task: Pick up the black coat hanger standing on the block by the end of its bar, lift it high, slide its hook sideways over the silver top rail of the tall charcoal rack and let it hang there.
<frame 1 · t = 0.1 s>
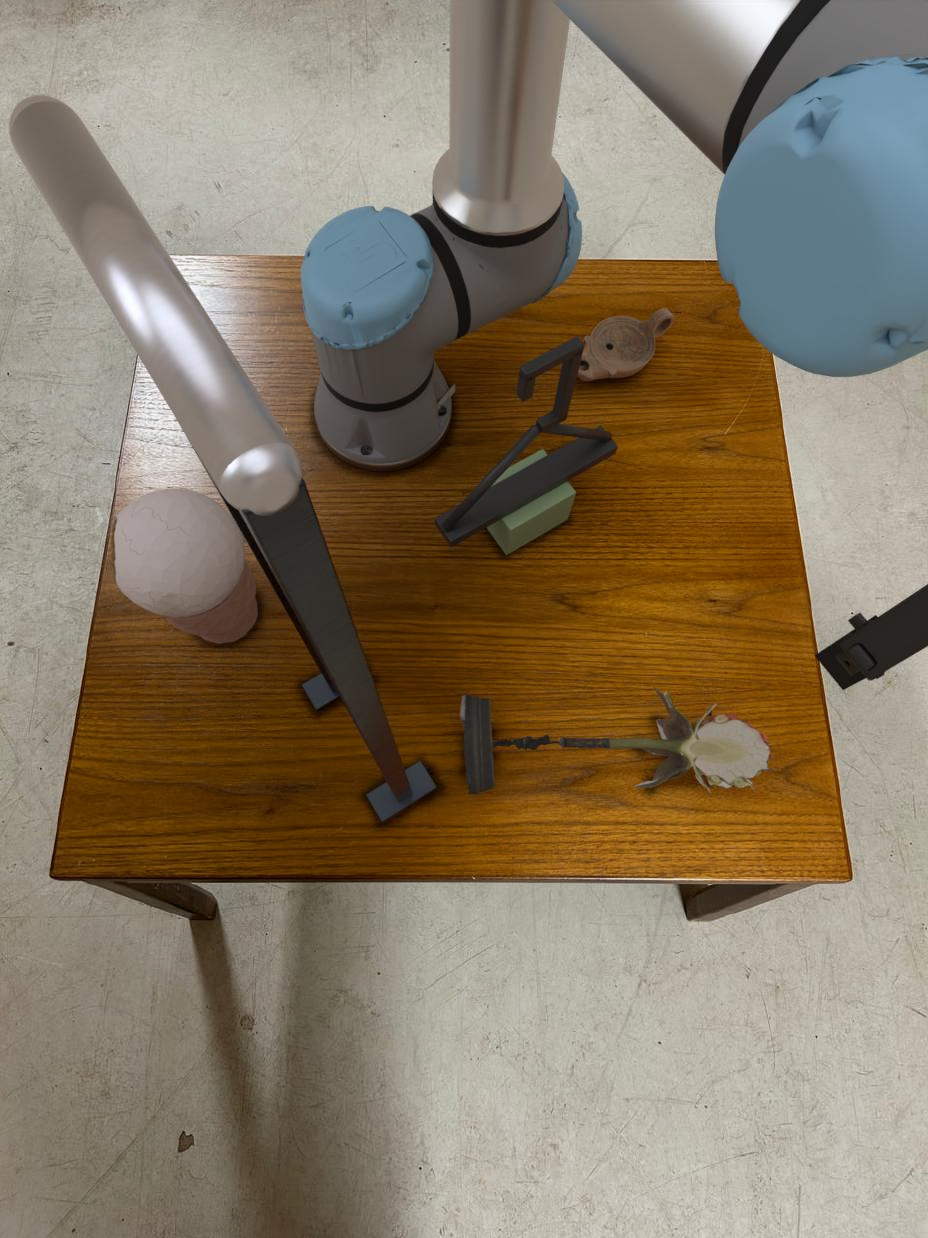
hand: (910, 616, 51), 28 cm above the table, tool pointing down, fingers open, 13 cm apart
oil lamp: (617, 360, 91), on the table
block: (521, 516, 84), on the table
hanger: (527, 488, 78), point 6 cm above the table, touching block
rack: (369, 737, 75), on the table
ornament: (605, 746, 76), on the table
ice cream cone: (225, 613, 80), on the table
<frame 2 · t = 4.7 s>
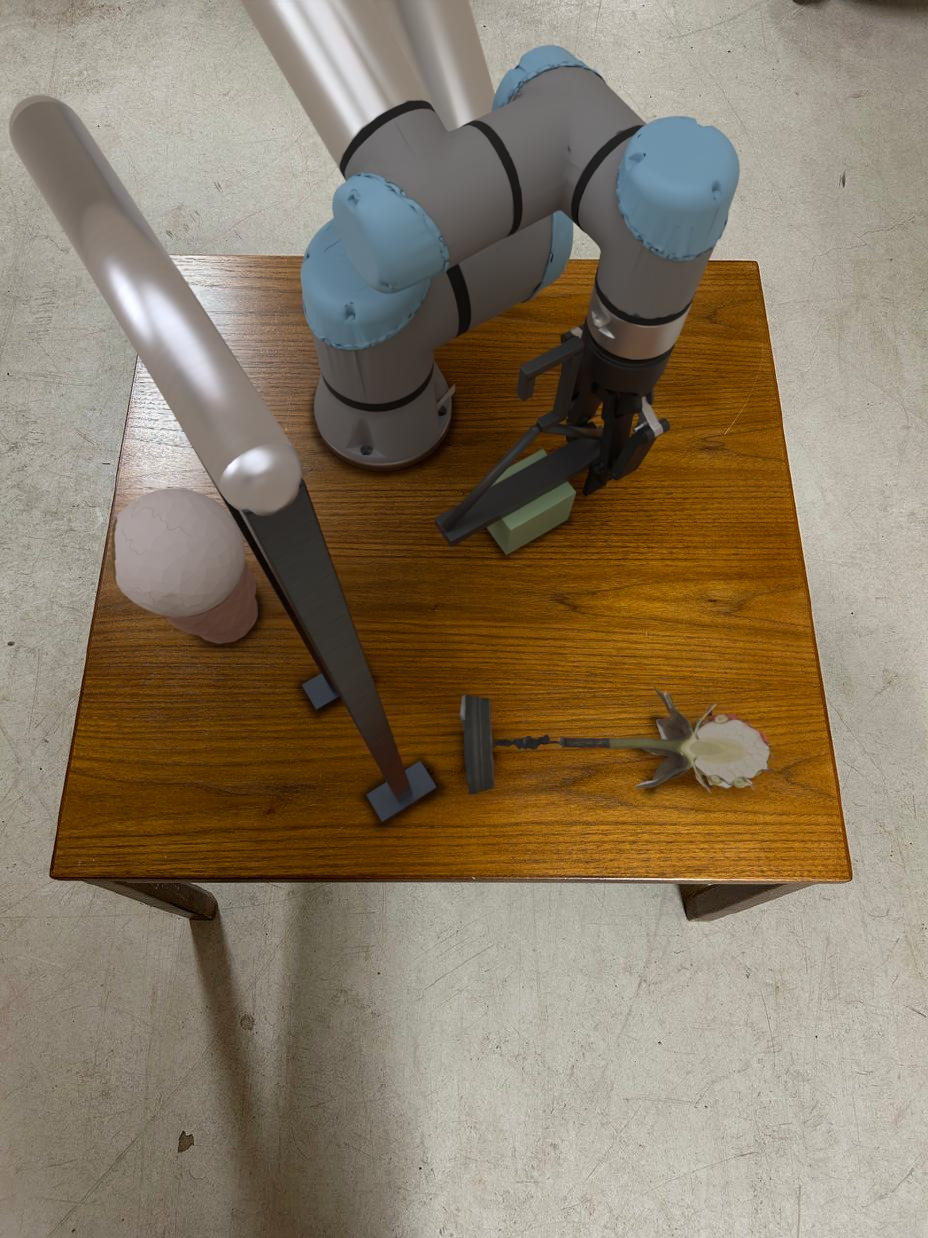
hand: (583, 475, 84), 1 cm above the table, tool pointing down, fingers closed on hanger, 3 cm apart
hanger: (527, 488, 78), point 6 cm above the table, touching gripper, block
everything else where it was.
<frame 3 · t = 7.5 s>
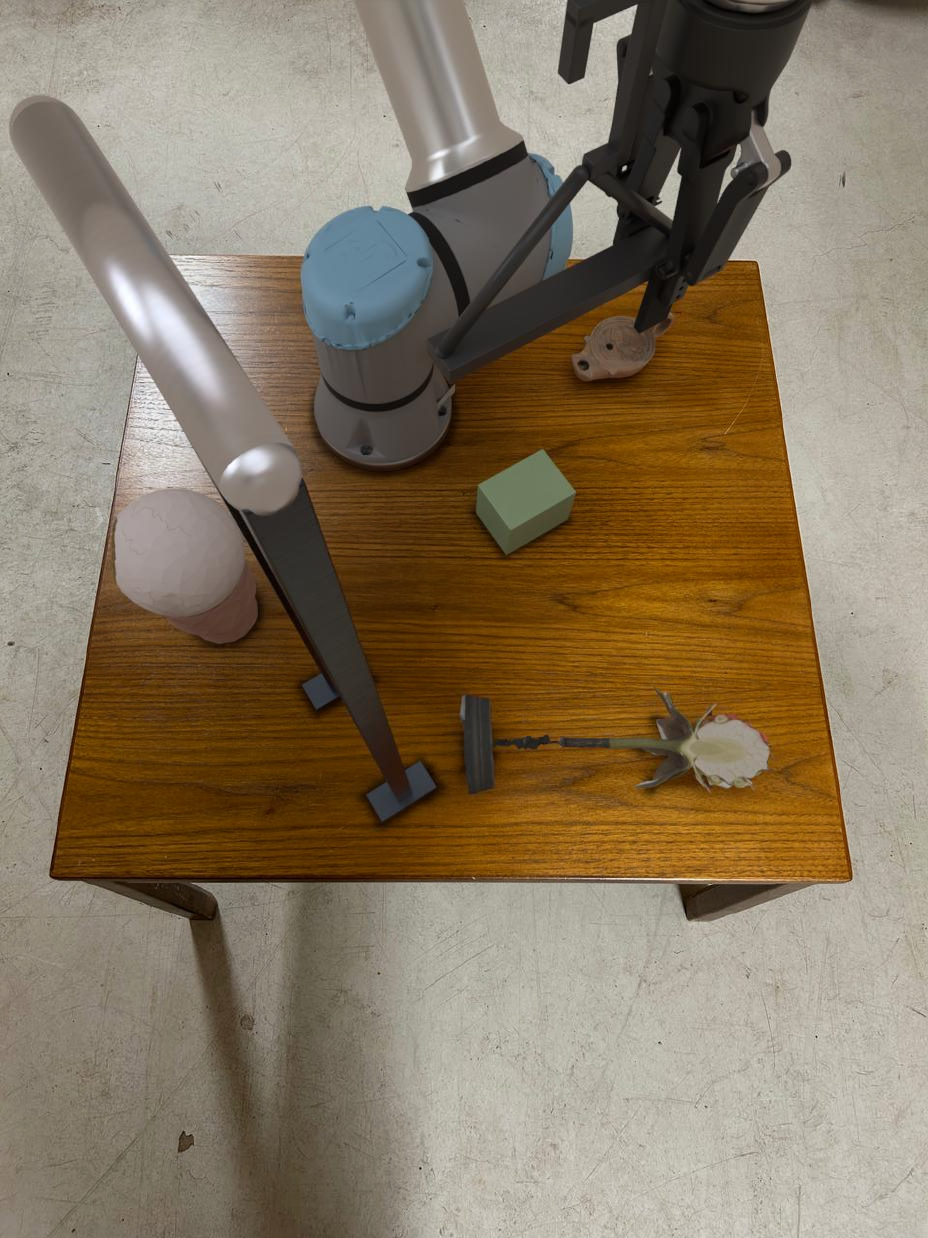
hand: (636, 305, 60), 27 cm above the table, tool pointing down, fingers closed on hanger, 3 cm apart
hanger: (559, 305, 54), point 31 cm above the table, touching gripper
everything else where it was.
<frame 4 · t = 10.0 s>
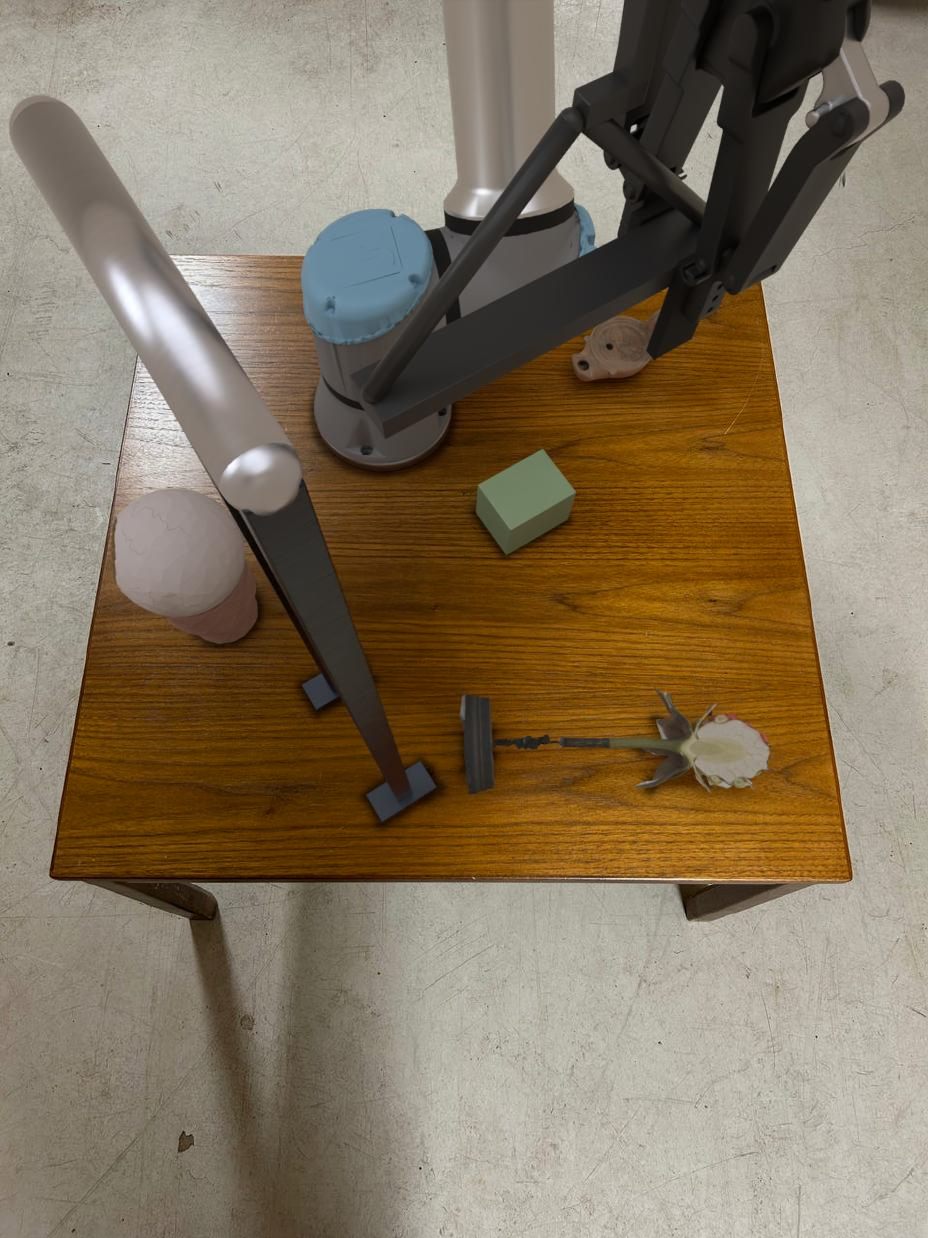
hand: (649, 321, 44), 39 cm above the table, tool pointing down, fingers closed on hanger, 3 cm apart
hanger: (544, 323, 38), point 44 cm above the table, touching gripper
everything else where it was.
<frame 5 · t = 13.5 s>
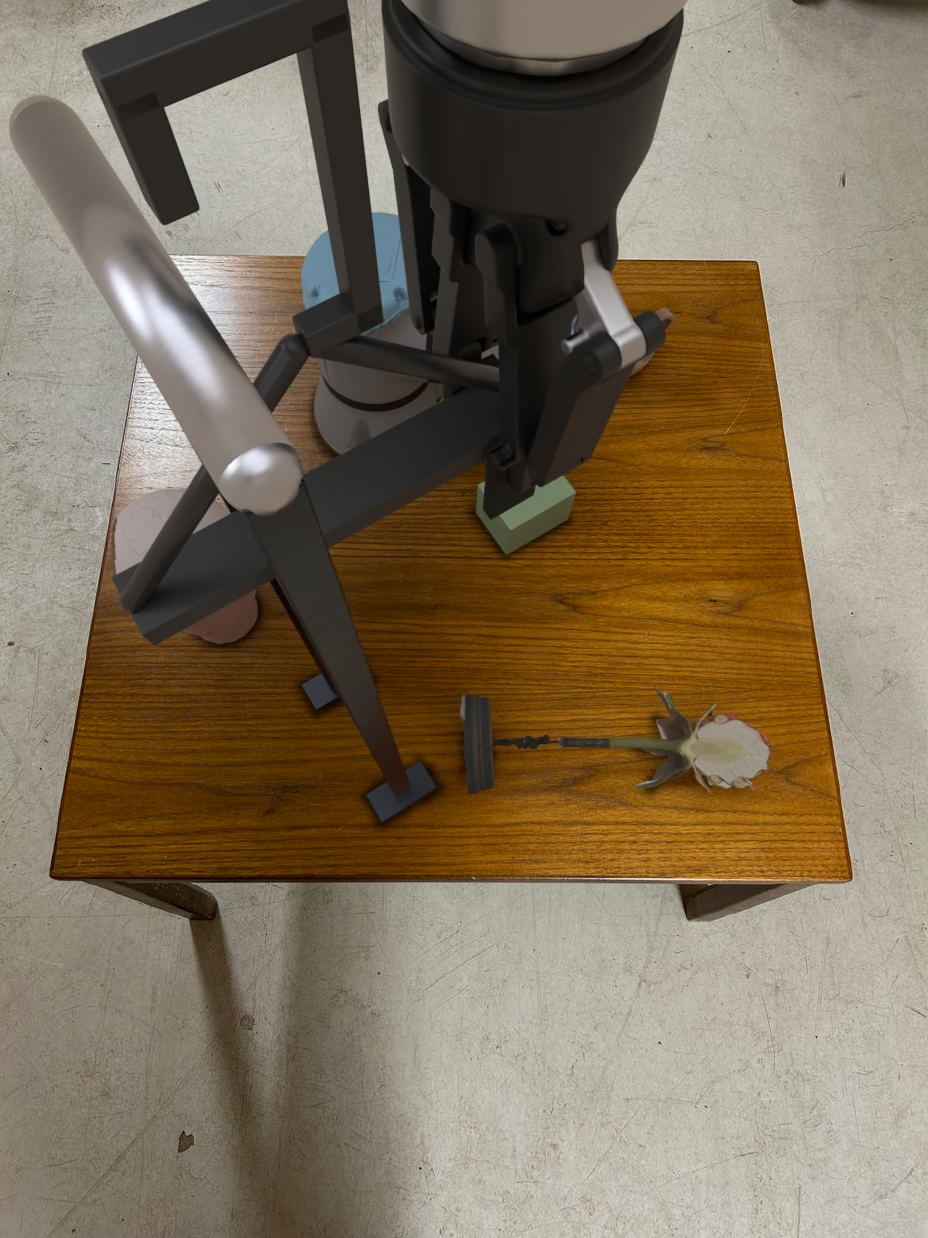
hand: (488, 475, 41), 39 cm above the table, tool pointing down, fingers closed on hanger, 3 cm apart
hanger: (345, 504, 35), point 44 cm above the table, touching gripper
everything else where it was.
when the fingers open (36 cm above the table, at t = 15.7 s): hanger stays where it is, resting on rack.
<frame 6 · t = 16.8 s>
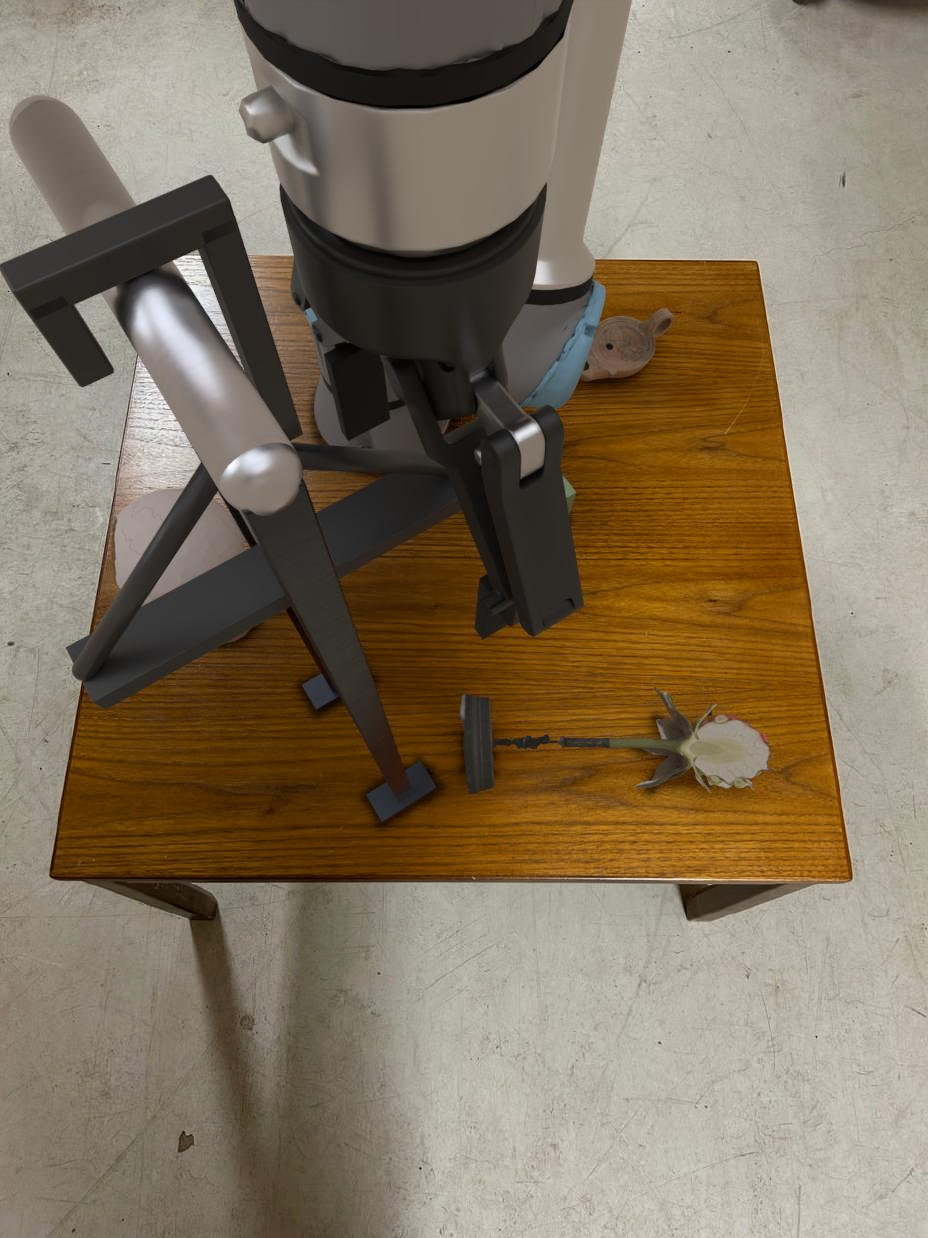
hand: (430, 518, 41), 38 cm above the table, tool pointing down, fingers open, 13 cm apart
hanger: (287, 575, 37), point 40 cm above the table, touching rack
everything else where it was.
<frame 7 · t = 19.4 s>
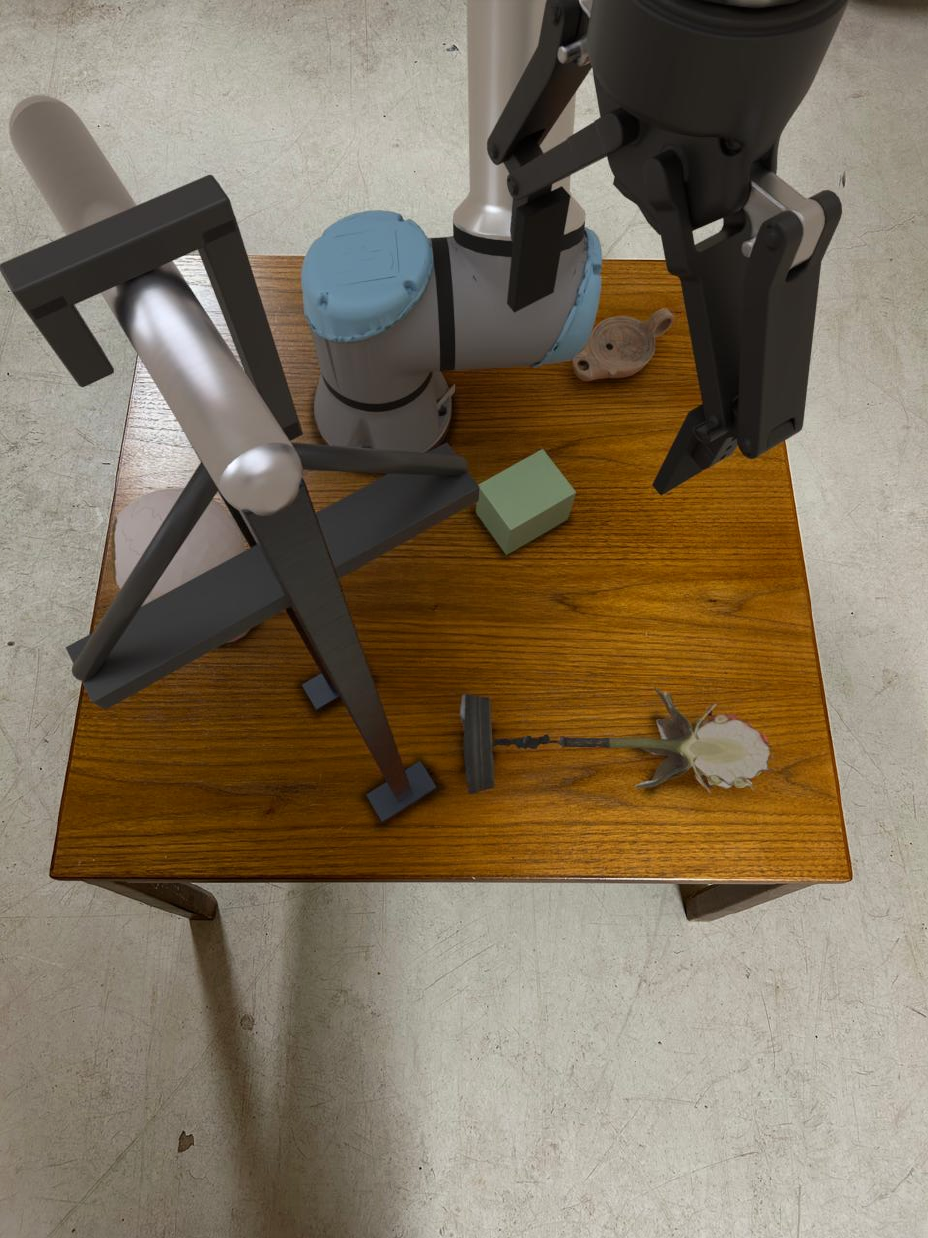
hand: (600, 384, 42), 40 cm above the table, tool pointing down, fingers open, 13 cm apart
nothing on the table moved.
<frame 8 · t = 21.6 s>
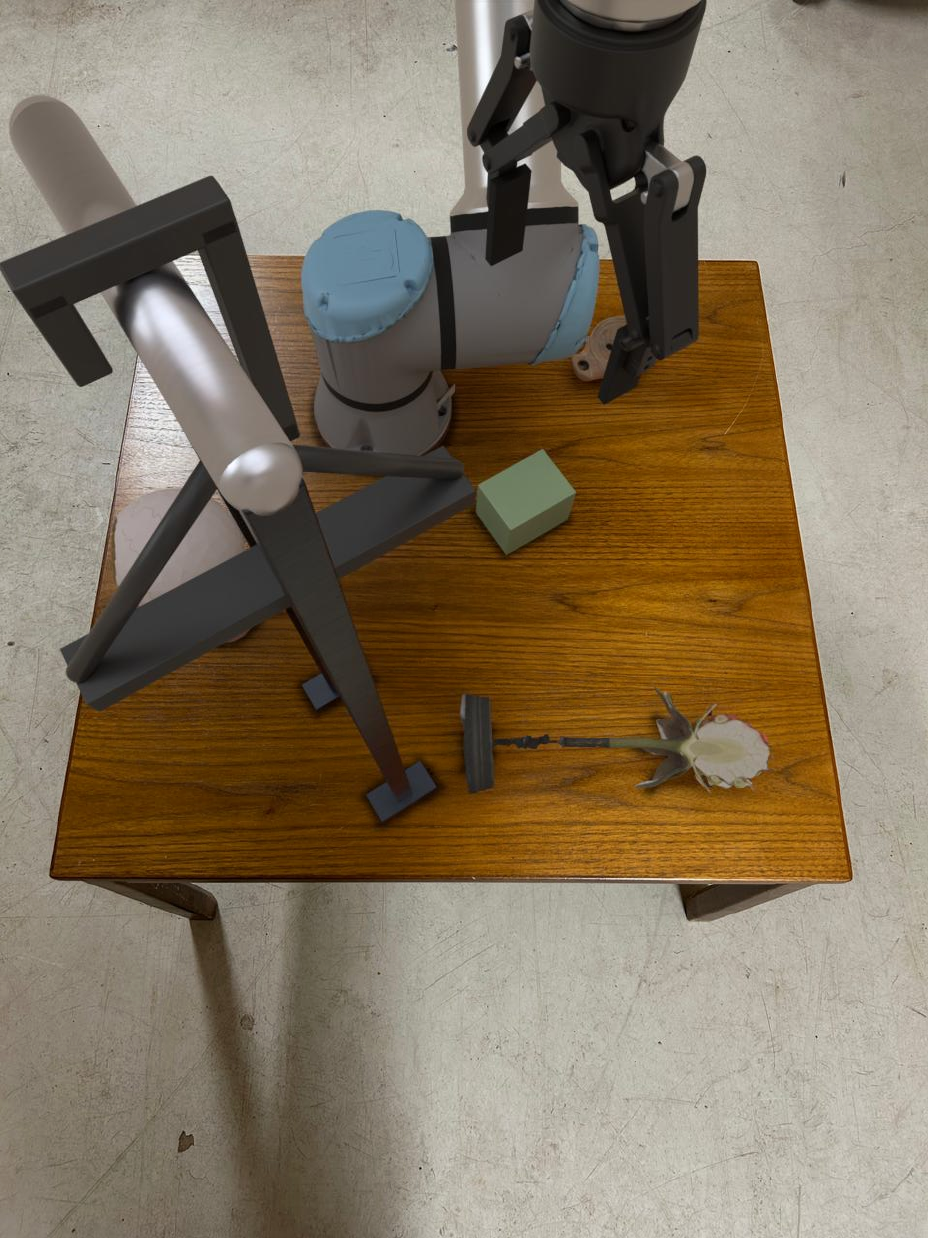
hand: (558, 321, 54), 32 cm above the table, tool pointing down, fingers open, 13 cm apart
nothing on the table moved.
at the end: hanger inside the target area on the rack (0.2 cm from its centre), point 40.5 cm above the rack's base; hanger touching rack; the gripper is holding nothing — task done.
